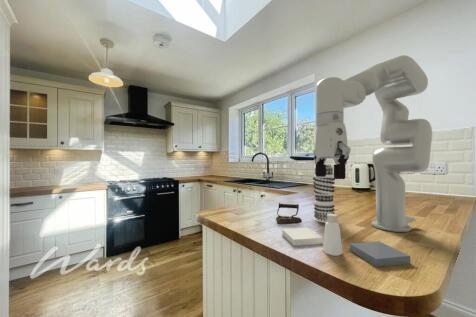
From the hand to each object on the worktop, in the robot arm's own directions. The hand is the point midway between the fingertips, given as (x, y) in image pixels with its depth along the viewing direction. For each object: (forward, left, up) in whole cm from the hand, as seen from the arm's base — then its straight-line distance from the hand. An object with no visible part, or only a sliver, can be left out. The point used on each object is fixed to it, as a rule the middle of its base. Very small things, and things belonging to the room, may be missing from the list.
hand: (329, 177), depth 63 cm
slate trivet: (-11, +6, -22) cm, 25 cm away
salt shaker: (0, +1, -22) cm, 22 cm away
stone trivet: (+4, -10, -22) cm, 24 cm away
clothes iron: (0, -30, -22) cm, 38 cm away
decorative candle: (-16, -29, -22) cm, 40 cm away
